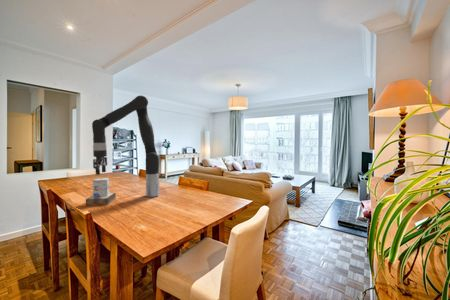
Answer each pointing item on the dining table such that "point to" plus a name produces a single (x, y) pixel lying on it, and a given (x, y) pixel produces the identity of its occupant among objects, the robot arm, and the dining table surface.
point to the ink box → (100, 187)
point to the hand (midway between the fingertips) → (101, 173)
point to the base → (101, 200)
